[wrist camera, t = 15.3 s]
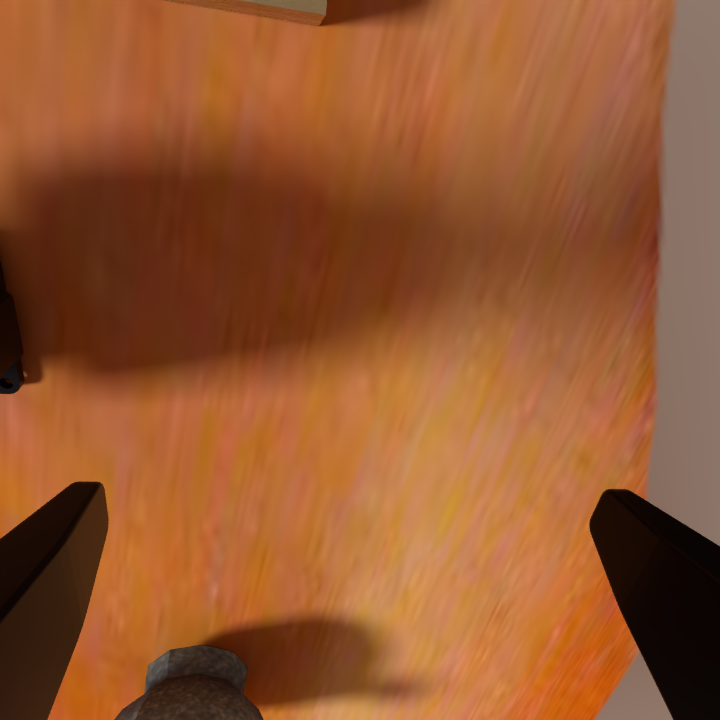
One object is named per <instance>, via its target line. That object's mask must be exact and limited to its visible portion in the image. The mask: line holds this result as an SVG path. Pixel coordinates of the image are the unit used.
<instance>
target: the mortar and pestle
mask: <svg viewBox="0 0 720 720" xmlns="http://www.w3.org/2000/svg"><path fill="white" fill-rule="evenodd" d="M246 673H247V667H246V665H245V664H244V663H243V662H242V661H241V660H240V659H239V658H238V657H237V656H236V655H235V654H234V653H233V652H231V651H227V650H223V649H218V648H214V647H210V646H205V645H199V646H193V647H186V648H180V649H174V650H170V651H168V652H167V653H165V654H164V655H162V656H161V657H160V658H158V659H157V660H155V661H154V662H152V663H151V664H150V665H148V671H147V676H146V684H145V694H144V695H142V696H141V697H140V698H138V699H137V700H135V701H134V702H132V703H131V704H130V705H128V706H127V707H125V708H124V709H123V710H122V711H121V712H120V713H119V715H118V716H117V717H116V718H115V720H263V717H262V715H261V713H260V711H259V709H258V708H257V707H256V706H255V705H254V704H252V703H251V702H250V701H249V700H248V699H247V698H246V697H245V696H244V695H243V694H242V693H243V689H244V685H245V681H246Z"/></svg>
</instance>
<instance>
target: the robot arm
mask: <svg viewBox="0 0 720 720" xmlns="http://www.w3.org/2000/svg"><path fill="white" fill-rule="evenodd" d="M22 354H23V347H22V342H21V337H20V332H19V327H18V321H17V316H16V311H15V306H14V301H13V297H12V295H11V294H10V293H9V292H8V291H7V290H6V287H5V282H4V277H3V272H2V267H1V262H0V394H12V393H15V392H17V391H18V390H19V389H20V388H21V386H22V385H23V384H24V375H23V370H22V365H21V360H20V356H21V355H22ZM4 378H8V379H10V380H11V381H12V382H13V384H11V383H8V382H6V381H5V379H4ZM589 525H590V532H591V535H592V538H593V541H594V543H595V546H596V549H597V551H598V554H599V556H600V559H601V562H602V564H603V567H604V570H605V572H606V575H607V578H608V580H609V583H610V586H611V588H612V591H613V593H614V596H615V599H616V601H617V603H618V606H619V608H620V611H621V613H622V615H623V617H624V619H625V621H626V624H627V626H628V628H629V630H630V632H631V634H632V636H633V638H634V640H635V642H636V644H637V646H638V648H639V650H640V652H641V654H642V656H643V658H644V660H645V662H646V665H647V667H648V668H649V671H650V673H651V675H652V677H653V679H654V681H655V683H656V685H657V687H658V689H659V691H660V693H661V695H662V697H663V699H664V701H665V703H666V705H667V708H668V710H669V712H670V714H671V716H672V718H673V720H720V546H718V545H717V544H715V543H713V542H712V541H710V540H709V539H707V538H705V537H704V536H702V535H701V534H699V533H697V532H696V531H694V530H693V529H691V528H689V527H688V526H686V525H685V524H683V523H681V522H680V521H678V520H676V519H675V518H673V517H672V516H670V515H668V514H667V513H665V512H664V511H662V510H660V509H659V508H657V507H655V506H654V505H652V504H650V503H649V502H647V501H646V500H644V499H643V498H641V497H639V496H638V495H636V494H635V493H633V492H631V491H629V490H626V489H608V490H606V491H604V492H603V493H602V495H601V497H600V499H599V501H598V504H597V506H596V508H595V510H594V512H593V514H592V516H591V519H590V523H589ZM107 531H108V512H107V504H106V497H105V489H104V486H103V484H102V483H100V482H75V483H72V484H71V485H69V486H68V487H67V488H65V489H64V490H63V491H62V492H60V493H59V494H58V495H56V496H55V497H54V498H53V499H51V500H50V501H49V502H47V503H46V504H45V505H43V506H42V507H41V508H40V509H38V510H37V511H36V512H34V513H33V514H32V515H31V516H29V517H28V518H27V519H25V520H24V521H23V522H22V523H20V524H19V525H18V526H16V527H15V528H14V529H13V530H11V531H10V532H9V533H7V534H6V535H5V536H3V537H2V538H1V539H0V720H47V719H48V716H49V714H50V711H51V709H52V706H53V703H54V701H55V698H56V696H57V693H58V690H59V688H60V685H61V683H62V680H63V677H64V675H65V672H66V670H67V667H68V664H69V662H70V659H71V656H72V654H73V651H74V649H75V646H76V643H77V641H78V638H79V635H80V632H81V629H82V627H83V623H84V620H85V616H86V613H87V609H88V605H89V601H90V597H91V594H92V590H93V586H94V582H95V578H96V574H97V570H98V567H99V563H100V559H101V555H102V551H103V547H104V543H105V540H106V536H107Z"/></svg>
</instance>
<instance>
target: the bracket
mask: <svg viewBox="0 0 720 720" xmlns="http://www.w3.org/2000/svg"><path fill="white" fill-rule="evenodd" d="M166 1H171V2H177V3H183V4H189V5H195V6H201V7H207V8H213V9H219V10H225V11H230V12H236V13H242V14H248V15H254V16H260V17H266V18H272V19H278V20H284V21H289V22H295V23H301V24H307V25H313V26H319V25H320V23H321V22H322V20H323V19H324V17H325V16H326V7H327V0H166Z"/></svg>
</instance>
